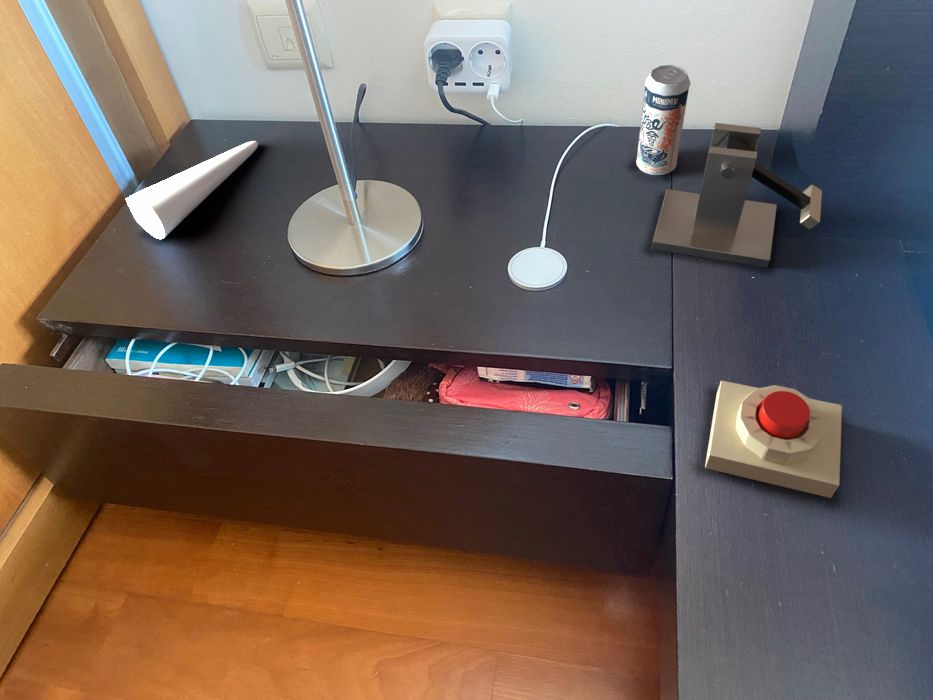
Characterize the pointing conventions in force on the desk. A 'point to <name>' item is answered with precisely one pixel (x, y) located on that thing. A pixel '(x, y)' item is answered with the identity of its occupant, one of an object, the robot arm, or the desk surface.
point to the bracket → (720, 208)
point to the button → (783, 414)
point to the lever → (783, 187)
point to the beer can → (662, 119)
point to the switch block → (775, 442)
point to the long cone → (184, 191)
